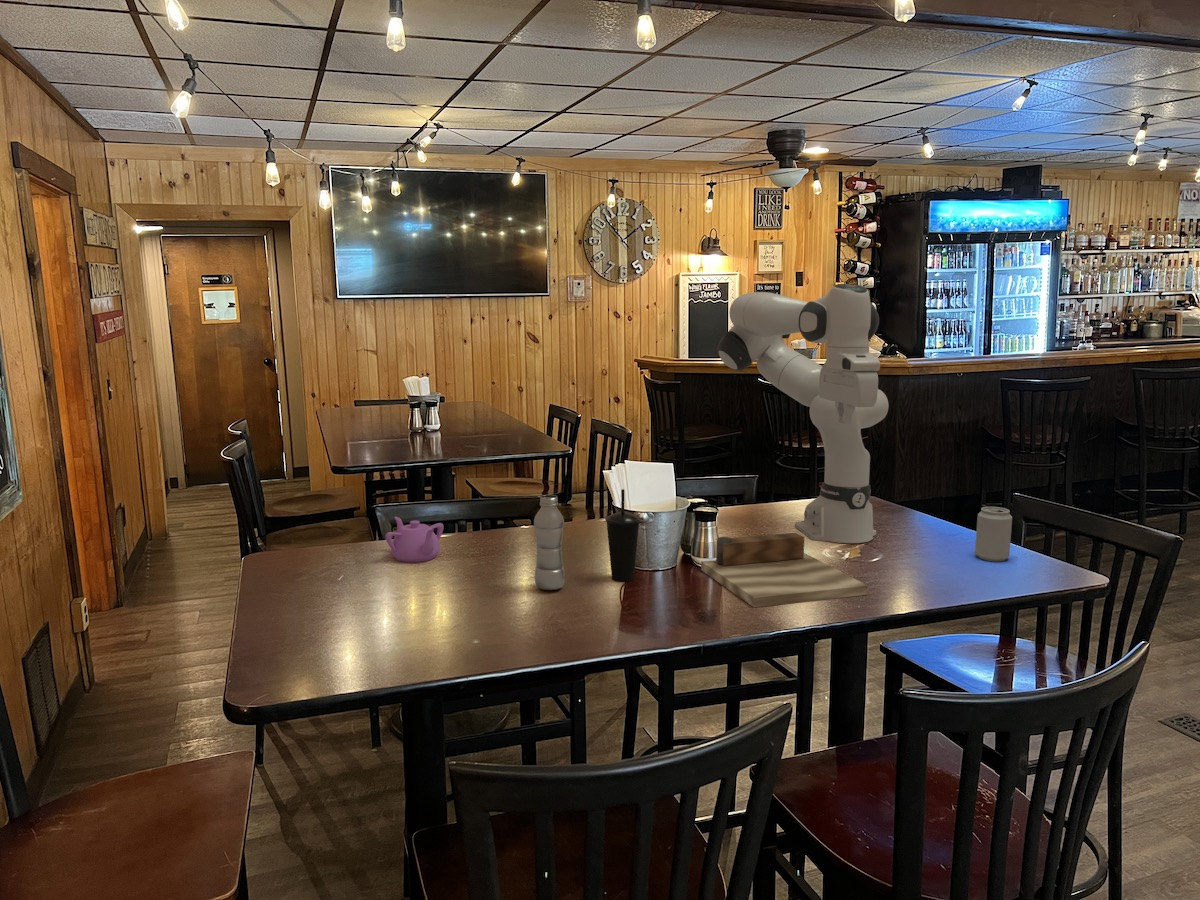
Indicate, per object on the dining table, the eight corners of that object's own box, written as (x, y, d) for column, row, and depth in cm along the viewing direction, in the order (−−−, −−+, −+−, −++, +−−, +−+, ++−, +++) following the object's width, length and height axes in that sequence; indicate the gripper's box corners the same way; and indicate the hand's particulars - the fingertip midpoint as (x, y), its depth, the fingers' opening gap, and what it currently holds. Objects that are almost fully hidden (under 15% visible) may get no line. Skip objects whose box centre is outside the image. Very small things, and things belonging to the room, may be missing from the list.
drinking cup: (622, 571, 197) (622, 484, 194) (647, 578, 192) (647, 489, 188) (598, 578, 192) (597, 489, 189) (623, 586, 186) (623, 494, 183)
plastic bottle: (542, 595, 180) (541, 501, 177) (529, 586, 186) (528, 495, 183) (570, 590, 183) (569, 498, 180) (557, 582, 189) (556, 492, 186)
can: (1014, 562, 203) (1018, 512, 202) (982, 562, 204) (986, 512, 202) (1000, 553, 211) (1004, 505, 209) (969, 553, 211) (973, 505, 209)
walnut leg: (721, 566, 193) (722, 541, 192) (713, 561, 197) (714, 537, 196) (803, 558, 199) (804, 534, 198) (794, 553, 203) (795, 530, 202)
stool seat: (701, 570, 198) (701, 548, 197) (802, 560, 205) (803, 539, 204) (754, 607, 173) (754, 583, 172) (867, 594, 181) (868, 571, 180)
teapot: (434, 565, 202) (433, 528, 200) (377, 563, 204) (375, 526, 202) (450, 551, 214) (449, 516, 212) (396, 549, 215) (395, 514, 214)
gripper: (812, 357, 198) (810, 417, 200) (856, 363, 178) (853, 430, 180) (838, 357, 199) (835, 417, 201) (884, 363, 179) (881, 429, 182)
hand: (844, 423), depth 191 cm, fingers closed
